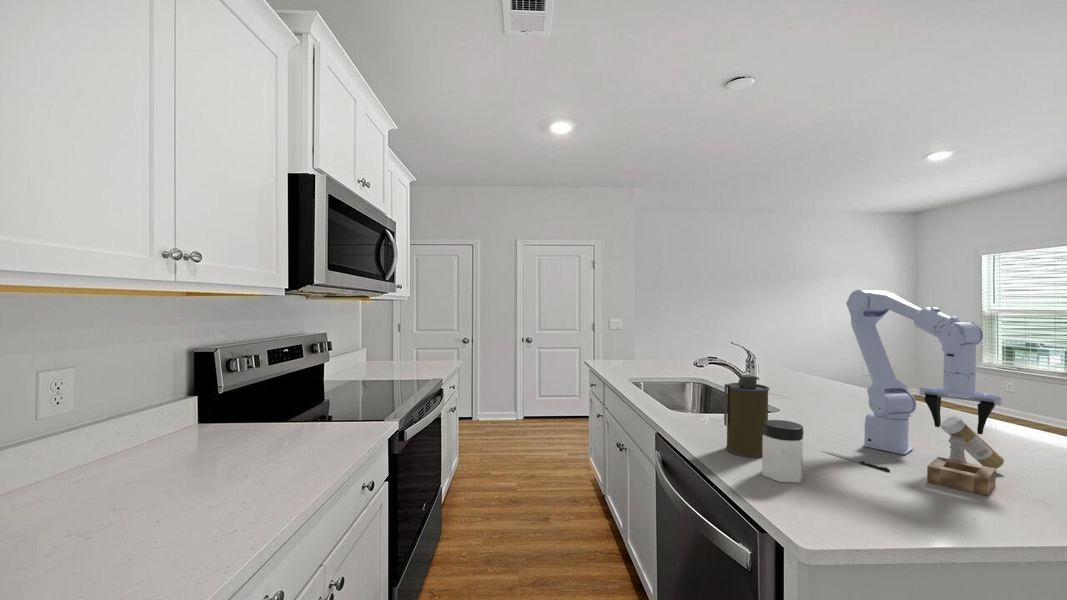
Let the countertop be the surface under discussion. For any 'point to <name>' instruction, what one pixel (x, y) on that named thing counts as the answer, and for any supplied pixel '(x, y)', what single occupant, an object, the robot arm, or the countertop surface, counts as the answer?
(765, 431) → the jar
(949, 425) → the sprinkles bottle
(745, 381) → the canister
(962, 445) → the rook chess piece
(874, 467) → the chef's knife
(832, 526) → the countertop surface
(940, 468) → the bore block
